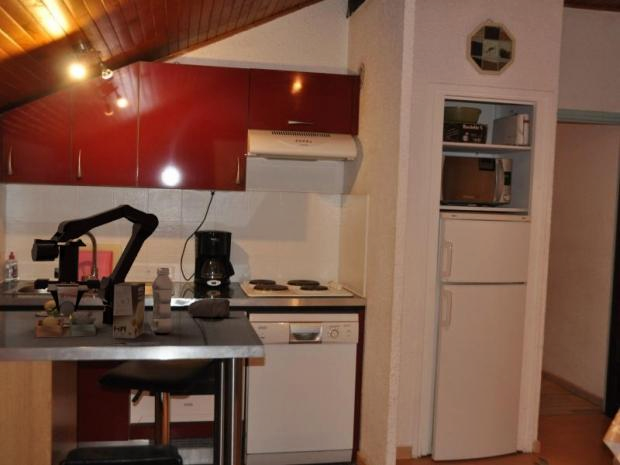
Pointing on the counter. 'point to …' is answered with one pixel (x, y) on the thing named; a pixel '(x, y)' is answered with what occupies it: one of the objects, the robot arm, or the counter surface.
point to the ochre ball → (50, 321)
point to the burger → (50, 310)
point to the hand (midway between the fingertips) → (67, 311)
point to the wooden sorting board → (65, 329)
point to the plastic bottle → (162, 302)
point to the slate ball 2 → (83, 320)
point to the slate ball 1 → (67, 308)
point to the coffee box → (128, 309)
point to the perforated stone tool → (209, 308)
